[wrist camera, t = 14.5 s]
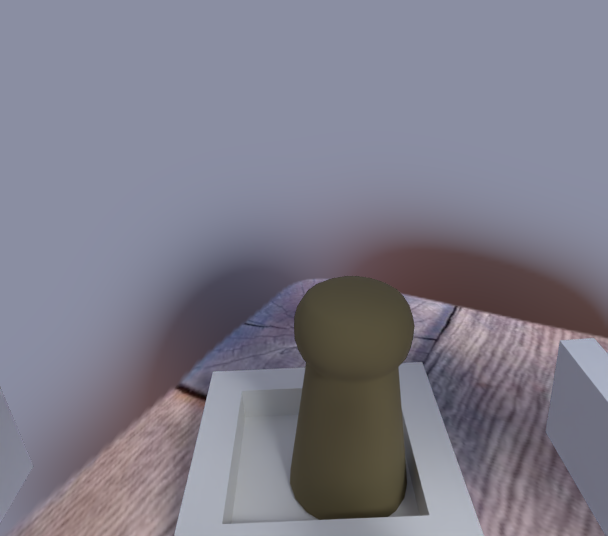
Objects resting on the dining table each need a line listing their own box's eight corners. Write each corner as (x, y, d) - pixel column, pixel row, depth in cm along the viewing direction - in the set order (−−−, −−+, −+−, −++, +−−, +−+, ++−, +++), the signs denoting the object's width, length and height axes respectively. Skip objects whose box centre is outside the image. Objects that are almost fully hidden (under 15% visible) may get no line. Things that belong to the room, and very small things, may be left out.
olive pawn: (298, 537, 24) (293, 339, 19) (282, 440, 30) (275, 265, 25) (424, 518, 25) (451, 323, 20) (387, 426, 30) (400, 255, 25)
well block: (419, 400, 34) (422, 361, 33) (483, 603, 22) (490, 556, 21) (218, 409, 34) (212, 371, 33) (177, 615, 23) (165, 569, 21)
